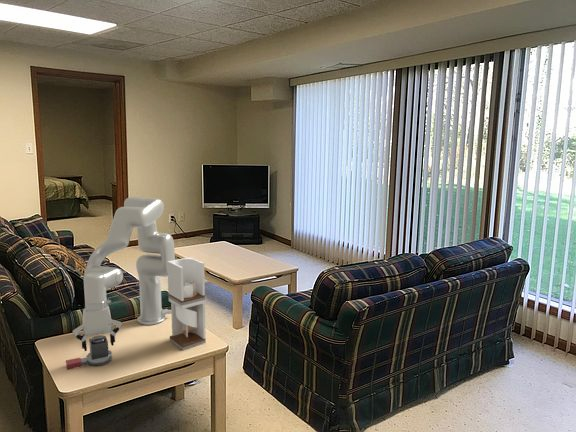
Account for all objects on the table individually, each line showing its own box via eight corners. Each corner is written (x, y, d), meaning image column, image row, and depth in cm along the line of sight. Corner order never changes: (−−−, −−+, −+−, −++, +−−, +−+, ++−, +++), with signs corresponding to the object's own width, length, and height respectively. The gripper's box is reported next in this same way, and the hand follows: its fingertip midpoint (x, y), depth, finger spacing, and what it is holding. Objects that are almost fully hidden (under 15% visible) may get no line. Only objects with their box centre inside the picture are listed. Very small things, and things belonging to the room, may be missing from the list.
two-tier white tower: (169, 340, 195) (167, 261, 189) (191, 333, 202) (190, 257, 196) (183, 350, 187) (180, 267, 180) (205, 342, 194) (204, 263, 187)
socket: (106, 349, 181) (105, 333, 180) (108, 356, 176) (107, 339, 175) (89, 353, 178) (88, 336, 177) (91, 359, 173) (90, 343, 172)
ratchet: (109, 353, 183) (109, 340, 182) (113, 362, 176) (113, 349, 175) (65, 362, 175) (64, 348, 174) (67, 373, 168) (66, 358, 167)
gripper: (118, 298, 181) (120, 338, 184) (70, 305, 172) (73, 347, 175) (121, 304, 174) (124, 346, 177) (72, 312, 166) (75, 356, 169)
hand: (98, 346), depth 176 cm, fingers open, 9 cm apart
